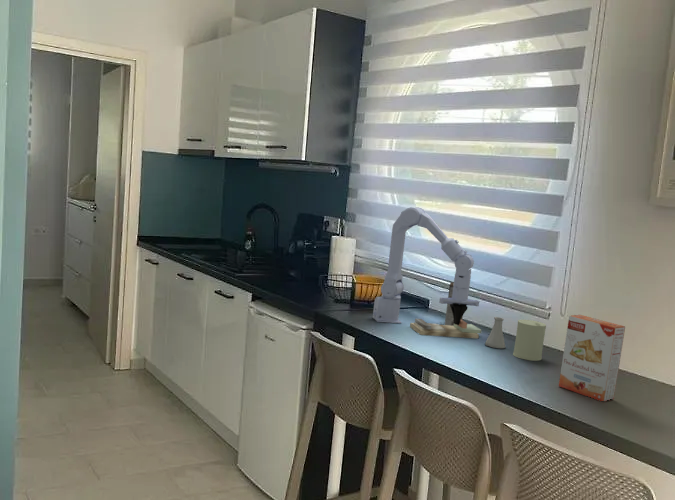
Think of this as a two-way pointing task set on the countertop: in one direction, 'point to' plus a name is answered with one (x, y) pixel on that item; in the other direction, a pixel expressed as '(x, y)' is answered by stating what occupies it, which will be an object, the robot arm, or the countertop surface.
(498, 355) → the countertop surface
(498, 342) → the flask
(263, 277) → the countertop surface
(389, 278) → the robot arm
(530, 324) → the can
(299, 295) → the countertop surface
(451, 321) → the coffee box
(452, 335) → the ticket board
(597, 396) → the cracker box
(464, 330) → the stub
